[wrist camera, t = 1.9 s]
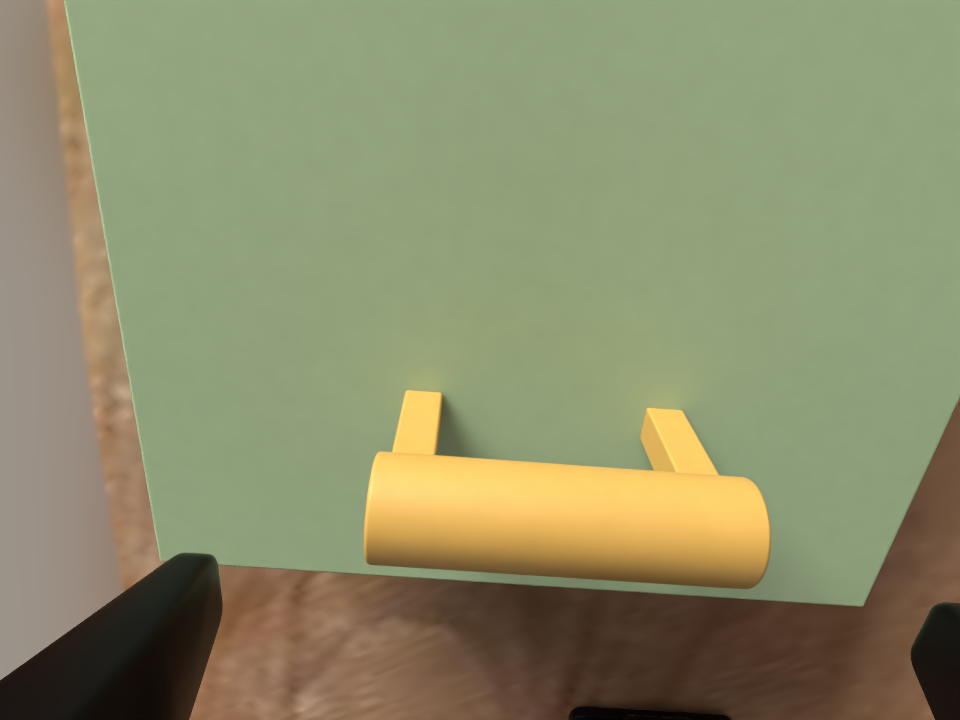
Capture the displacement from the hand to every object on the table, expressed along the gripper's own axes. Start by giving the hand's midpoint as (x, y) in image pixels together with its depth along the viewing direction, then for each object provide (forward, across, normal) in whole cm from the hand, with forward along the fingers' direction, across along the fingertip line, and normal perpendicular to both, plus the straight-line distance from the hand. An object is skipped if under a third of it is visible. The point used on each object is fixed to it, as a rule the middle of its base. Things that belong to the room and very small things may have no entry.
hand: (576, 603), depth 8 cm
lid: (+5, 0, -2) cm, 6 cm away
